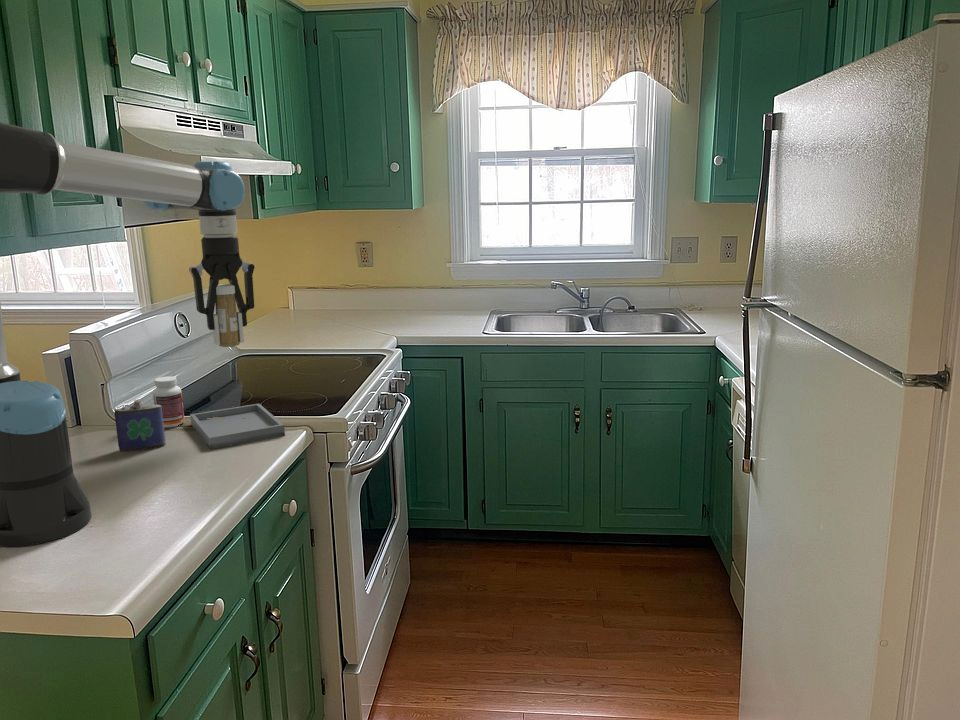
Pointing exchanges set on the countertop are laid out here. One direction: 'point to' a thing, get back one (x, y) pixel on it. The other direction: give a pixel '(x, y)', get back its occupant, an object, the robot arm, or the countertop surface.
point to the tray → (236, 426)
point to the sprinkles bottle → (227, 315)
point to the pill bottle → (169, 400)
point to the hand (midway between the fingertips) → (229, 342)
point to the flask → (139, 427)
